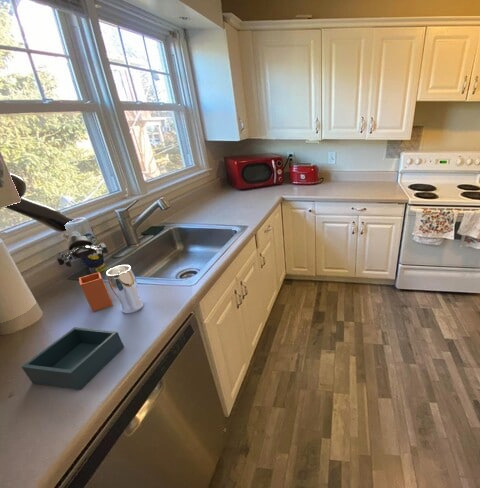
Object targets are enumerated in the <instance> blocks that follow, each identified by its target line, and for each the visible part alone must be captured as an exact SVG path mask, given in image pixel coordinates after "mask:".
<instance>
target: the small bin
mask: <svg viewBox="0 0 480 488" xmlns="http://www.w3.org/2000/svg"><path fill="white" fill-rule="evenodd" d="M78 281H79V286H80V288H81V290H82V292H83V294H84V296H85V299H86V302H87V303H88V305H89V307H90V309H91V312H92V313H95V312H99V311H101V310H104V309H106V308H110V307H112V306H113V305H114V303H113V301H112V298H111V296H110V293H109V290H108V289H107V286H106V284H105V281H104V279H103V277H102V274H101V271H98V272H95V273H92V274H87V275H84V276H81V277H78Z"/></svg>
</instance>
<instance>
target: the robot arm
mask: <svg viewBox="0 0 480 488" xmlns="http://www.w3.org/2000/svg"><path fill="white" fill-rule="evenodd" d="M9 173H10V172H9ZM10 175H11V177H12V180H13V182H14V184H15V186H16V189H17V191H18V193H19V196H20V198H21V202H20V203H17V204H13V205H10V206H7V207H4V208H5V209H8V210H11V211H13V212H15V213H18V214H20V215H22V216H25V217H27V218H29V219H32V220H34V221H36V222H38V223H39V224H41V225H44V226H46V227H47V228H49V229H51V230H52V231H55V232H57V233H63V232H64V231H66V229H65V226H64V225H65V224H66V223H67V222H69V221H72V220H74V219H75V218H73V217H70V216H68V215H66V214H64V213H63V212H61V211H60V210H58V209H56V208H54V207H52V206H50V205H46V204H44V203H40V202H38V201H35V200H32V199H29V198H27V197H24V195H25V193H26V192H27V184H26V181H25V180H24V179H23V178H22V177H21V176H19V175H16V174H14V173H10ZM1 209H2V208H0V210H1ZM91 229H92V231H93V232H94V227H93V226H92V225H91ZM63 237H64V238H65V239H66V240H67V241H68V242H67V241H66V242H67V246H68V251H67V252H66V253H62V252H58V253H57V254H56V261H57V263H58V265H59V266H63V265H64V266H65V267H69V268H71V267H72V266H73V265H72V263H73V262H77V261H78V260H80V259H85V258H89V257H96V256H97V257H98V259H99V260H101V259H102V258H103V257H104V254H108V253H109V250H108V248H107V246H106V244H105V242H99V244H98V245H95V243H94V241H93V239H92V238H91V239H92V240H91V239H90V238H88V237H86V236H72V237H70V236H69V235H68V234H64V235H63ZM63 237H62V238H63ZM93 243H94V244H93Z"/></svg>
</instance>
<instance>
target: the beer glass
mask: <svg viewBox="0 0 480 488" xmlns="http://www.w3.org/2000/svg"><path fill="white" fill-rule="evenodd" d="M105 275H106V277H107V281H108V284H109V286H110V289H111V290H112V292H113V293H114V295H115V296H116V298H117V300H118V301H119V302H120V305H121V311H122V313H123V314H133V313H136V312H138V311H140V310H141V309H142V308H143V307H144V303H143V301H142V299H141V298H140V296H139V289H138V288H139V287H138V283H137V278H136V275H135V273H134V271H133V269H132V267H131V266H130V265H129V264H121V265H116V266H114V267H111V268H109V269H108V270H107V271H106V272H105Z"/></svg>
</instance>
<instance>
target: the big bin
mask: <svg viewBox="0 0 480 488" xmlns="http://www.w3.org/2000/svg"><path fill="white" fill-rule="evenodd" d="M124 348H125V345H124V344H123V341H122V339H121V336H120V335H119V332H118V331H115V330H105V329H95V328H86V327H79V326H78V327H77V326H74V327H73V328H71V329H70V330H69V331H67V332H66V333H65V334H63V335H62V336H61V337H59V338H58V339H56V340H55V341H54V342H52V343H51V344H50V345H49V346H47V347H46V348H44V349H43V350H42V351H40V352H39V353H37V354H36V355H35V356H34V357H32V358H31V359H29V360H28V361H27V362H25V363H24V364H23V365H21V369H22V370H23V372H24V373H25V375H26V376H27V378H28V379H29V380H30V382H31V383H32V384H36V385H43V386H49V387H56V388H57V387H58V388H64V389H69V390H78V391H81V390H82V389H83V388H84V387H85V386H86V385H87V384H88V383H89V382H90V381H92V379H93V378H94V377H96V375H97V374H99V373H100V371H101V370H103V369H104V367H106V365H108V364H109V363H110V362H111V361H112V360H113V358H115V357H116V356H117V355H118V354H119V353H120V352H121V351H122V350H123V349H124Z"/></svg>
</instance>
